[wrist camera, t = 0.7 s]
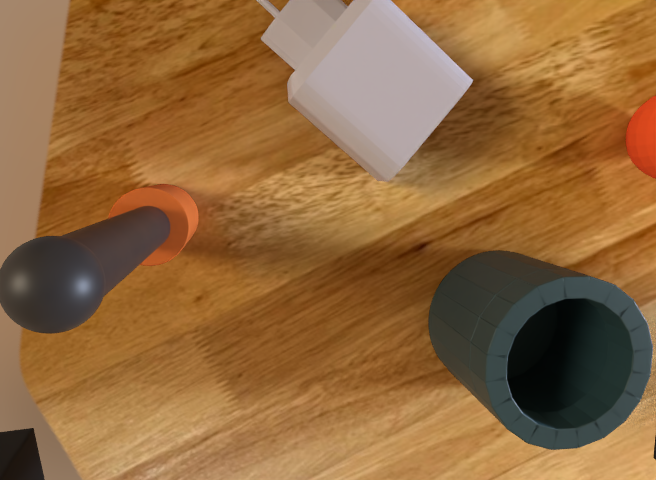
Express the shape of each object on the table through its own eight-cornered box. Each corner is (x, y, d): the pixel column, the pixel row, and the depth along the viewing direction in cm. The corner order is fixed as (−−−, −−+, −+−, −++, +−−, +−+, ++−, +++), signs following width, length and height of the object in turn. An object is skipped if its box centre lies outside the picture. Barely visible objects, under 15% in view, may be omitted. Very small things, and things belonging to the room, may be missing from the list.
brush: (117, 209, 40) (-97, 279, 15) (171, 171, 40) (48, 176, 15) (159, 262, 41) (22, 409, 16) (211, 223, 41) (158, 310, 16)
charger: (303, -55, 40) (452, 88, 43) (220, 44, 40) (375, 180, 43) (310, -85, 35) (477, 78, 38) (217, 28, 35) (391, 182, 38)
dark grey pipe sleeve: (401, 305, 44) (451, 350, 33) (513, 222, 45) (598, 240, 34) (475, 410, 46) (545, 483, 36) (581, 329, 47) (681, 378, 36)
